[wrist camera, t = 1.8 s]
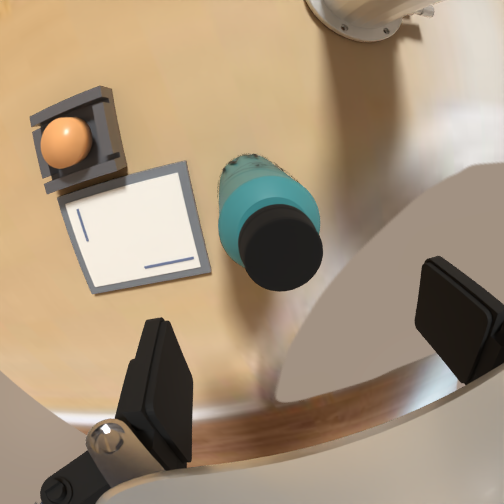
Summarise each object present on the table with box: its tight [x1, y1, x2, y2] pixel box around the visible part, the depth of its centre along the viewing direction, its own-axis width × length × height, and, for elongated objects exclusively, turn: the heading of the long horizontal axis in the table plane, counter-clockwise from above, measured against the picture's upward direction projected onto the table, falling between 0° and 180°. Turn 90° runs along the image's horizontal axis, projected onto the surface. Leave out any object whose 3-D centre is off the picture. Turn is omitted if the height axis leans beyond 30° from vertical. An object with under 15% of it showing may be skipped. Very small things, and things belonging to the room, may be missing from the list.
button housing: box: [30, 86, 127, 194], centre depth 26 cm, size 9×9×4 cm
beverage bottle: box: [217, 153, 323, 291], centre depth 23 cm, size 6×7×20 cm
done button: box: [41, 117, 92, 169], centre depth 24 cm, size 5×5×2 cm
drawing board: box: [57, 160, 211, 294], centre depth 33 cm, size 16×13×1 cm
